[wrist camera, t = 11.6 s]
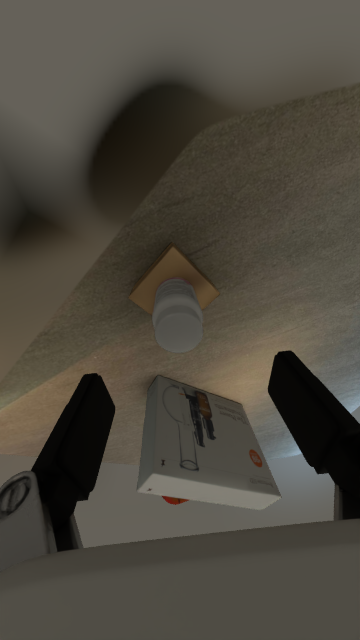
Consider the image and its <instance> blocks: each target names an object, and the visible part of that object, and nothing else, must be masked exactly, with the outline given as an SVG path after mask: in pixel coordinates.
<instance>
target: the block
mask: <svg viewBox="0 0 360 640" xmlns="http://www.w3.org/2000/svg"><path fill="white" fill-rule="evenodd" d="M173 277H179V278H183V279H185V280H187V281H188V282H189V283H190V284H191V285H192V287H193V289H194V291H195V294H196V296H197V299H198V302H199V304H200V307H201V310H203V309H204V308H205V307H207V306H208V305H209V304H210V303H211V302H212V301H213V300H214V299H215V298H216V297H217V296H219V295H220V293H219V291H218V290H217V288H216V287H215V286H214V284H213V283H212V282H211V281H210V280H209V279H208V278H207V277H206V276H205V275H204V274H203V273H202V272H201V271H200V270H199V269H198V268H197V267H196V266H195V265H194V263H193V262H192V261H191V260H190V259H189V258H188V257H187V256H186V255H185V254H184V253H183V252H182V251H181V250H180V249H179V248H178V247H177V246H176V245H175V244H174V243H173V242H171V244H170V245H169V246H168V247H167V248H166V249H165V251H164V252H163V253H162V254H161V255H160V256H159V257H158V259H157V260H156V261H155V262H154V263H153V264H152V266H151V267H150V268H149V269H148V270H147V271H146V273H145V274H144V275H143V276H142V277H141V278H140V280H139V281H138V282H137V283H136V284H135V285H134V287H133V289H132V291H131V293H130V295H129V297H128V298H129V299H131V300H132V301H133V302H135V303H136V304H137V305H139V306H140V307H141V308H142V309H144V310H145V311H146V312H148V313H149V314H150V315H152V314H153V309H154V302H155V295H156V291H157V288H158V286H159V285H160V284H161V283H162V282H163V281H164V280H166V279H169V278H173Z"/></svg>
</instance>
